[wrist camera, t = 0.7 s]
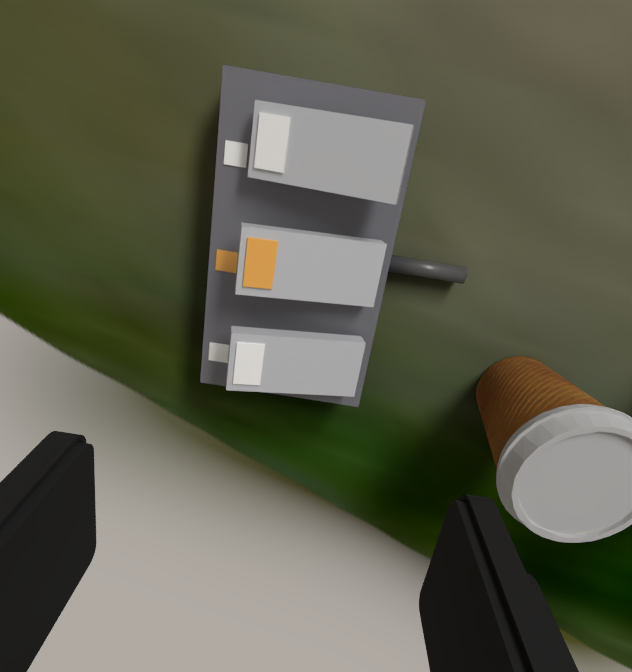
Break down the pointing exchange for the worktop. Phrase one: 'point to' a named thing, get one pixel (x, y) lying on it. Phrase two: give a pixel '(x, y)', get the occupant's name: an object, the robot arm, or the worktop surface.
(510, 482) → the disposable coffee cup
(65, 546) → the robot arm
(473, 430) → the worktop surface
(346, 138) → the block
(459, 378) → the worktop surface
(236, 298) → the rocker switch panel
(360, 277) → the block
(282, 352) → the block
